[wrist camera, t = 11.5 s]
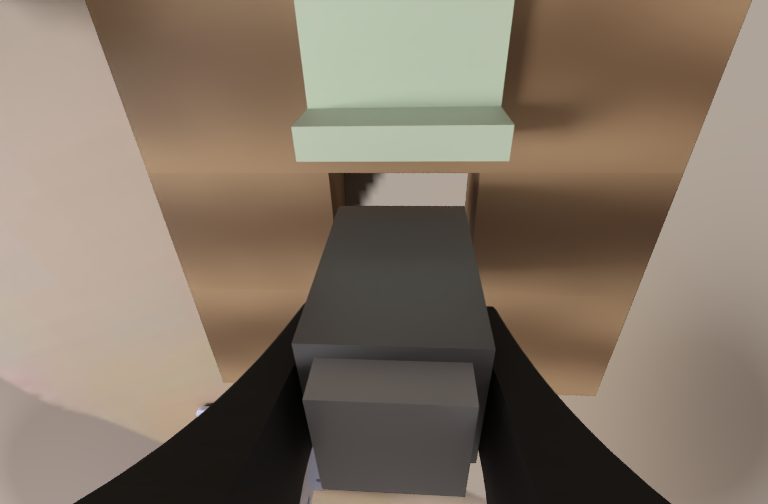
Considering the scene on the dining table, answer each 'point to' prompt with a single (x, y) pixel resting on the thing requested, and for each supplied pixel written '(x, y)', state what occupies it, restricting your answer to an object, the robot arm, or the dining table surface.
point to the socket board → (425, 162)
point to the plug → (396, 352)
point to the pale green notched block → (403, 80)
